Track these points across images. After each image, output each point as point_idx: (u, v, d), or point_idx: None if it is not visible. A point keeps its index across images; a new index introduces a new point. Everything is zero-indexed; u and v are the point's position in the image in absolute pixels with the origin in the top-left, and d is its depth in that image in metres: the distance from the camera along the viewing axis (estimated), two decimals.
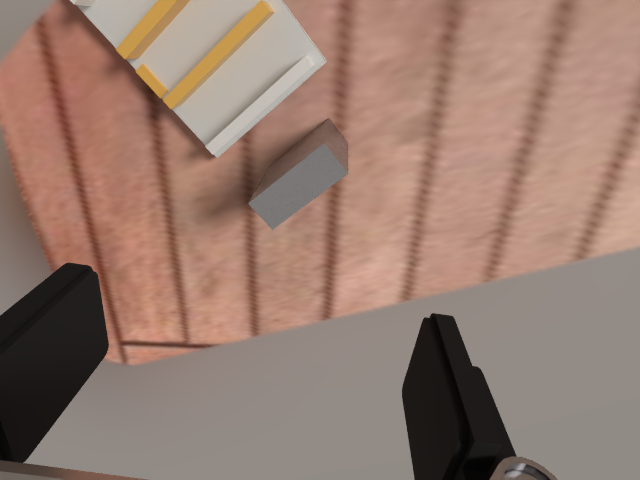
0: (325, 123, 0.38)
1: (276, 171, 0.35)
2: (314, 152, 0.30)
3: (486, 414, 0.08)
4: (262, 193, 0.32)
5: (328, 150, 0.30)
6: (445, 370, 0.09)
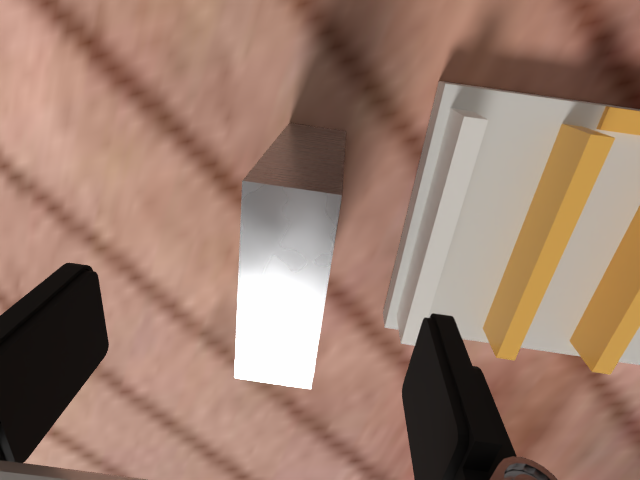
0: None
1: None
2: (311, 369, 0.15)
3: (486, 414, 0.08)
4: (331, 240, 0.13)
5: (294, 384, 0.15)
6: (445, 370, 0.09)
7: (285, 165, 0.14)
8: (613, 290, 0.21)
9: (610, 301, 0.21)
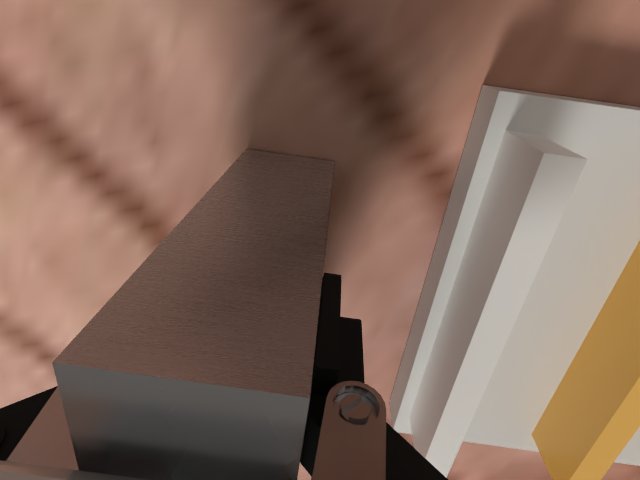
0: None
1: None
2: None
3: (338, 349, 0.09)
4: (289, 477, 0.05)
5: None
6: None
7: (199, 272, 0.07)
8: None
9: None
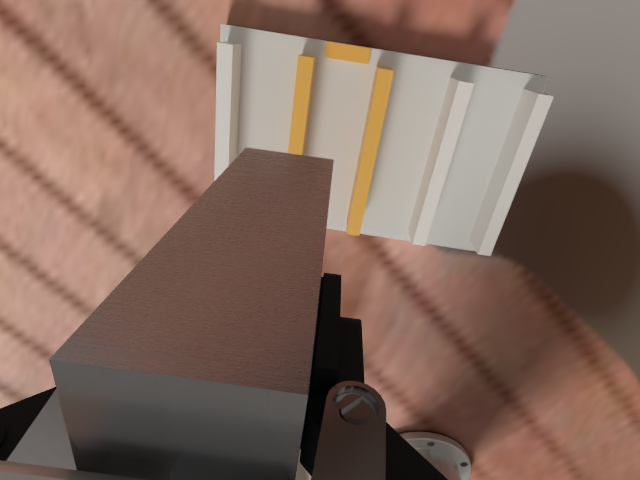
0: None
1: None
2: None
3: (338, 349, 0.09)
4: (288, 475, 0.05)
5: None
6: None
7: (198, 269, 0.07)
8: (356, 175, 0.30)
9: (355, 183, 0.30)
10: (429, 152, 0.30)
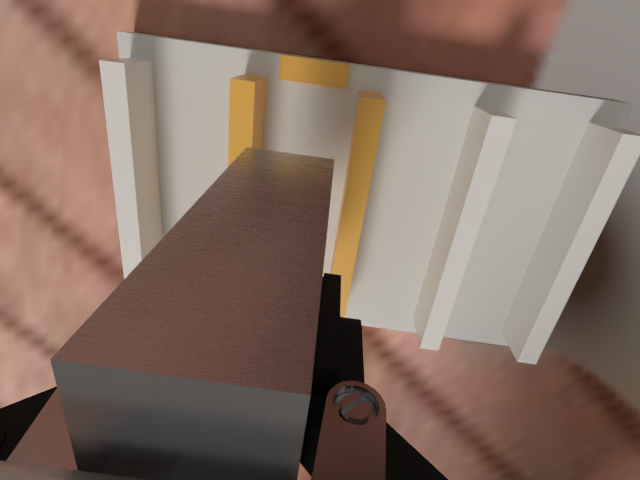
0: None
1: None
2: None
3: (338, 349, 0.09)
4: (290, 475, 0.05)
5: None
6: None
7: (200, 269, 0.07)
8: (334, 250, 0.20)
9: None
10: (443, 215, 0.20)
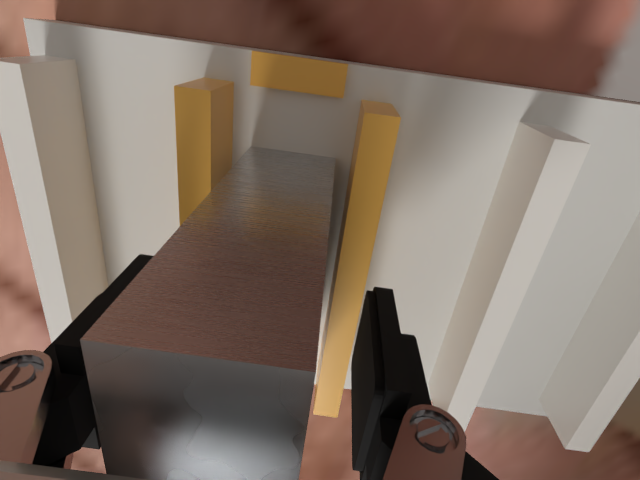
0: None
1: None
2: None
3: (404, 369, 0.09)
4: (296, 448, 0.06)
5: None
6: (375, 334, 0.10)
7: (211, 261, 0.07)
8: (328, 308, 0.15)
9: (326, 322, 0.16)
10: (471, 263, 0.15)
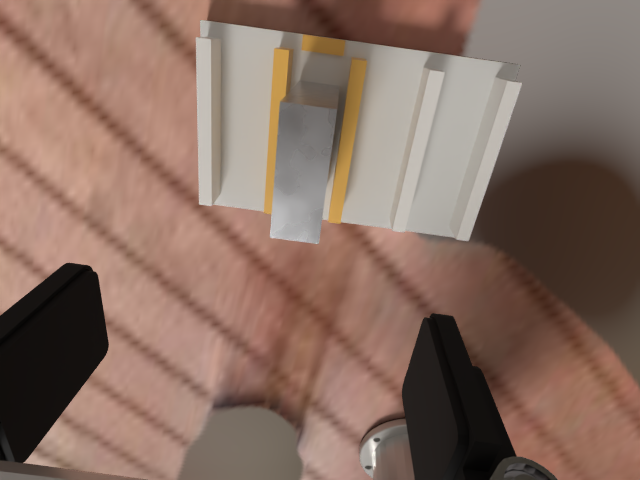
0: None
1: None
2: (318, 228, 0.24)
3: (486, 414, 0.08)
4: (331, 138, 0.21)
5: (308, 241, 0.24)
6: (445, 370, 0.09)
7: (302, 97, 0.23)
8: None
9: None
10: (406, 141, 0.31)
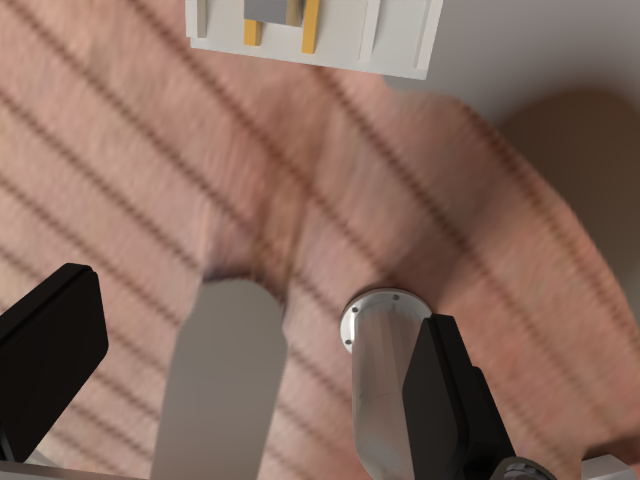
0: (299, 22, 0.36)
1: None
2: (285, 7, 0.28)
3: (486, 413, 0.08)
4: None
5: (276, 22, 0.28)
6: (445, 370, 0.09)
7: None
8: None
9: None
10: None
